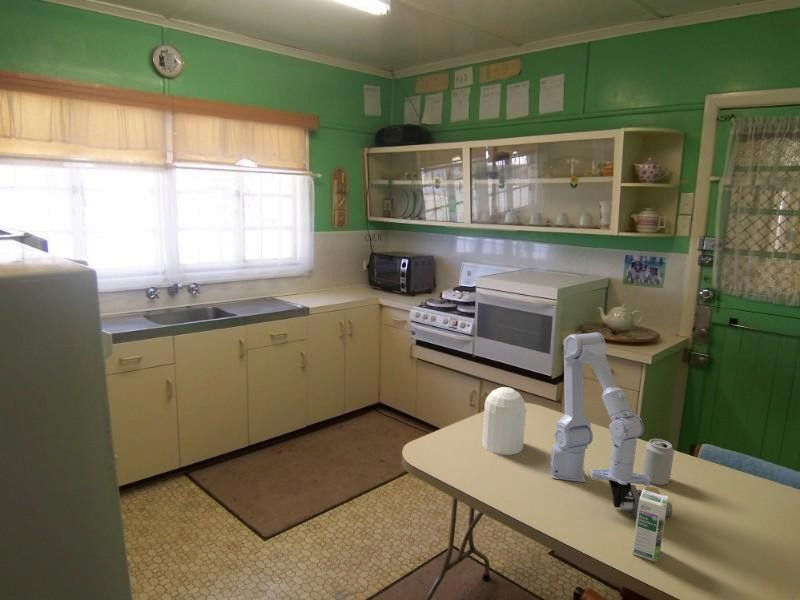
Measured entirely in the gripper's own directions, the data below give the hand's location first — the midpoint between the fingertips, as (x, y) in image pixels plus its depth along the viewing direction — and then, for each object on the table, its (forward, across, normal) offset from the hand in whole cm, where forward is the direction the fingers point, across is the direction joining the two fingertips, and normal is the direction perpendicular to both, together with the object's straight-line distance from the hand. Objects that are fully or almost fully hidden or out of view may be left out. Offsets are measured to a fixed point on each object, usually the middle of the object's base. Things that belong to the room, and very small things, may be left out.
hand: (616, 505), depth 146 cm
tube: (+1, +7, 0) cm, 7 cm away
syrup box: (+1, +4, -17) cm, 17 cm away
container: (+1, -30, +30) cm, 43 cm away
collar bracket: (+1, +7, +1) cm, 7 cm away
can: (+1, +15, +19) cm, 24 cm away
